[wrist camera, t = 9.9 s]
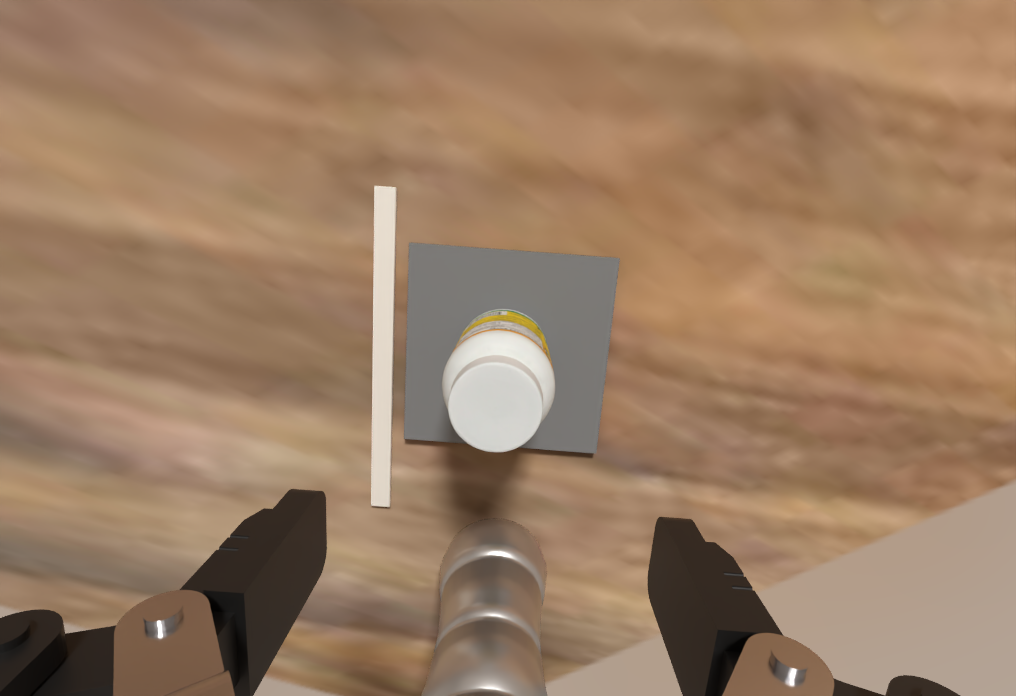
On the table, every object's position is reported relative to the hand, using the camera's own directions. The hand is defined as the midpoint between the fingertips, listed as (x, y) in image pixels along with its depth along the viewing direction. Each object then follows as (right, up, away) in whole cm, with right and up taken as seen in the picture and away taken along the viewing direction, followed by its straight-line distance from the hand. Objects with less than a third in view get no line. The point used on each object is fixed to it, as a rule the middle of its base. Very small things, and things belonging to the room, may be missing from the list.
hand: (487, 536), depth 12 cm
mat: (0, +4, +19) cm, 19 cm away
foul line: (-7, +4, +19) cm, 21 cm away
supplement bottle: (0, +4, +18) cm, 19 cm away
